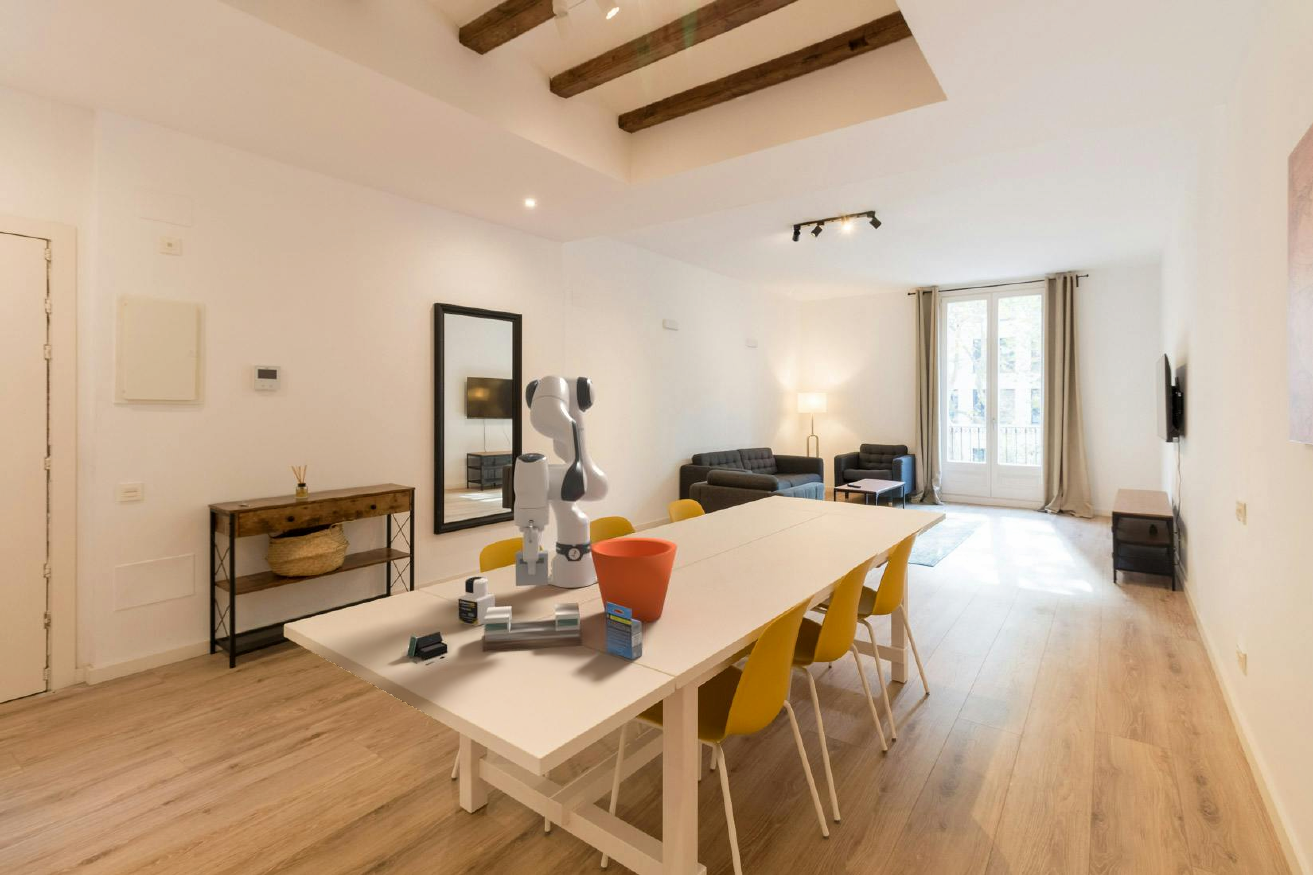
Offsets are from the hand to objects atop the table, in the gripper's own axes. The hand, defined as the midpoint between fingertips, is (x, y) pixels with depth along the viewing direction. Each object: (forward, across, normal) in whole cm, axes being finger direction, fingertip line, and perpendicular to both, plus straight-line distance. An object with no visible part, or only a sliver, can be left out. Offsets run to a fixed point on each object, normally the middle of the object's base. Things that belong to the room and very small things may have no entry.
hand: (532, 571), depth 158 cm
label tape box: (+18, -13, -22) cm, 31 cm away
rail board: (+18, 0, 0) cm, 18 cm away
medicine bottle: (+18, +17, +16) cm, 29 cm away
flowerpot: (+18, +15, -28) cm, 37 cm away
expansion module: (+3, 0, 0) cm, 3 cm away
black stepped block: (+19, -5, +24) cm, 31 cm away
